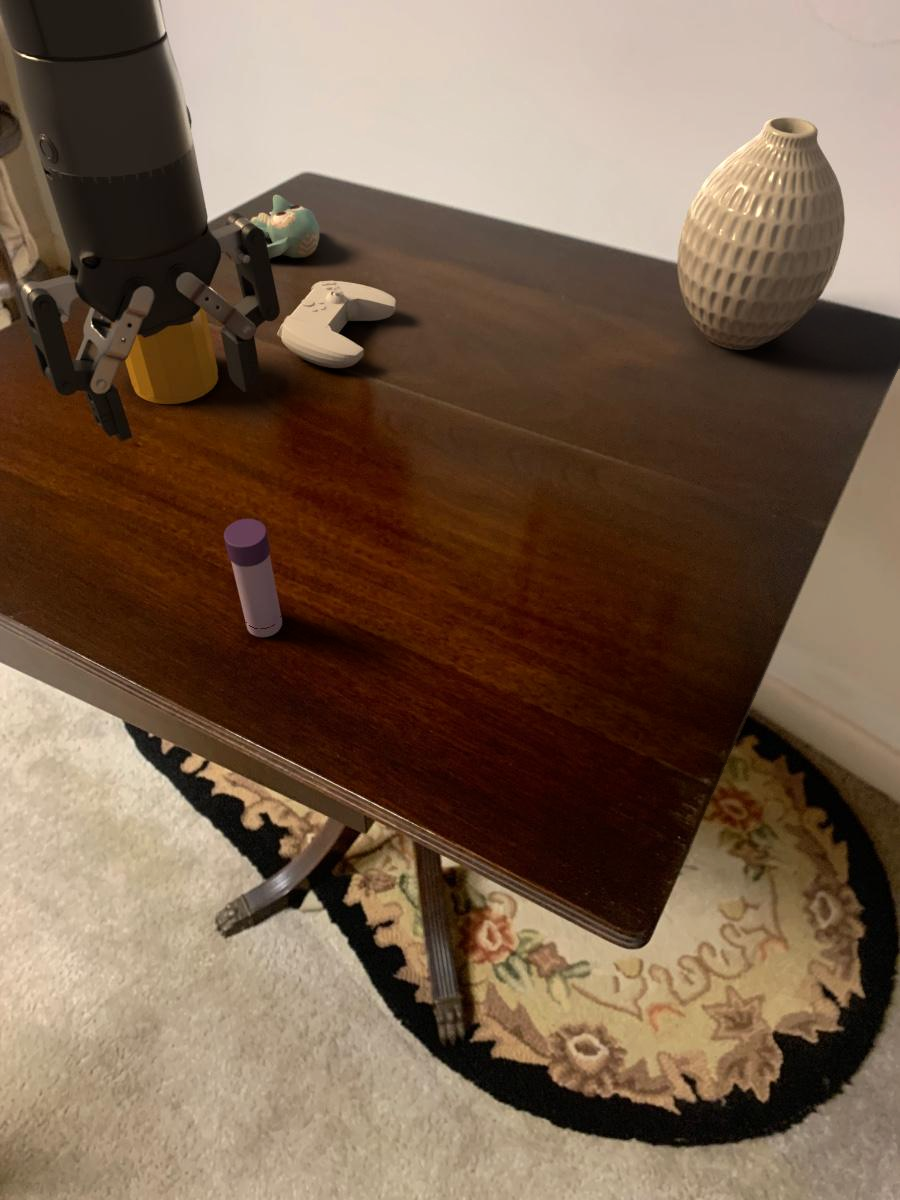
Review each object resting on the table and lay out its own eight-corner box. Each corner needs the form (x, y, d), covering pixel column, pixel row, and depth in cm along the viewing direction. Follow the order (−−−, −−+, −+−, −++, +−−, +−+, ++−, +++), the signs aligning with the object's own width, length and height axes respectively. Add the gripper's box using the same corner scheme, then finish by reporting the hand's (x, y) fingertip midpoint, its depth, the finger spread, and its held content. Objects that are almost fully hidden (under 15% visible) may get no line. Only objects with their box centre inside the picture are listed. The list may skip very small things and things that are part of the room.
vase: (637, 309, 104) (676, 104, 88) (758, 290, 108) (816, 89, 92) (704, 384, 94) (762, 168, 78) (835, 360, 98) (917, 148, 81)
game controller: (357, 355, 91) (267, 320, 91) (351, 389, 94) (265, 355, 95) (403, 289, 100) (322, 257, 101) (397, 322, 104) (318, 291, 104)
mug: (234, 369, 95) (219, 286, 88) (185, 413, 89) (164, 328, 82) (145, 342, 98) (123, 260, 91) (92, 383, 92) (64, 299, 85)
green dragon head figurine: (270, 177, 115) (334, 184, 108) (284, 233, 120) (347, 243, 113) (206, 204, 109) (270, 213, 103) (224, 262, 114) (286, 274, 107)
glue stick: (244, 639, 69) (222, 548, 62) (246, 611, 71) (225, 519, 64) (282, 637, 70) (265, 546, 62) (284, 609, 72) (267, 517, 64)
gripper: (207, 89, 49) (252, 346, 61) (-55, 149, 43) (51, 421, 55) (277, 130, 45) (310, 397, 57) (-1, 202, 39) (101, 483, 51)
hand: (183, 408), depth 56 cm, fingers open, 8 cm apart
